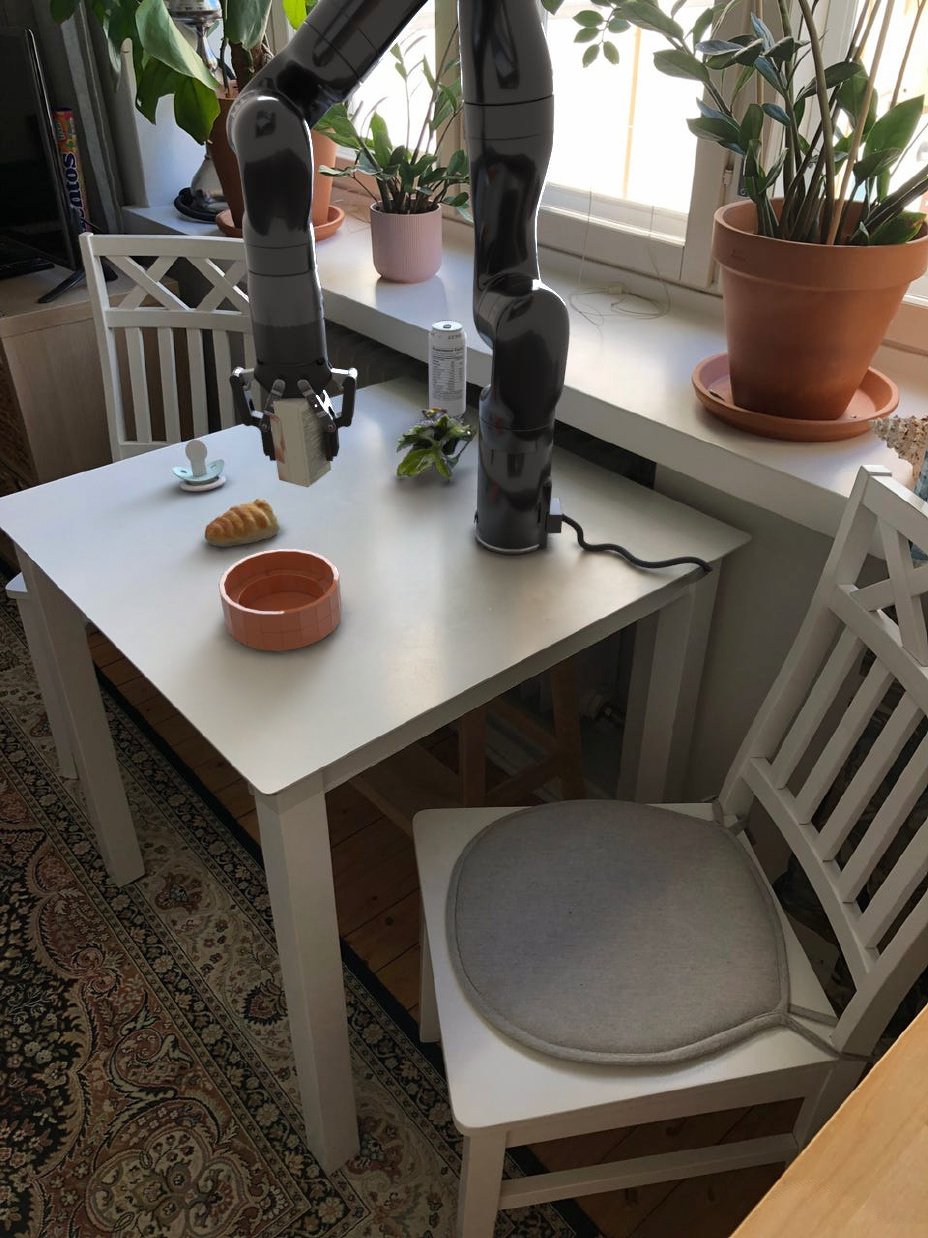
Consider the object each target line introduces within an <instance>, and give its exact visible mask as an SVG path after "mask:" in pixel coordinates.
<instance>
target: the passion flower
mask: <svg viewBox="0 0 928 1238" xmlns="http://www.w3.org/2000/svg"><path fill="white" fill-rule="evenodd" d="M447 412H448V409H447V408H443V409H440V408H437V407H434V408H432V410H429V408H427V409H425V408H424V409H422V410H421V413H422V416H423V418H425V419H428V420H425V419H423V421H422V420H421V419H419V422H415V424H411V426H412V428H408V430H407V433H401V437H402V438H403V439H397V440H396V441H397V443H399V444H398V446H397V447H396V451H395V452H396V453H397V454H398V453H399V452H400V451H402V449H404V450H405V449H407V448H408V447H411V446H412V447H411V449H409V451H408V452H407V453H406V455H405V456H404V458H403V459H402V461H401V462H400V463H398V466H397V467H396V476H397V477H398V478H399V479H400V478H402V477H404V476H407V477H409V478H413V477H415V476H418V475H420V474H422V473H423V472H424V471H426V470H428V469H429V468H430V467H431V466H433V465H435V467H436V469H437V471H438V472H439V473H440V474H441V475H442V476H444V477H445V478H447V484H446V485H449V484H450V481H451V479H452V476H453V472H454V470H455V467H456V466H457V464H458V463H459V459H460V457H461V455H462V454H463V452H464V451H465V449H466V448H467V447H468V445H469V444H470V442H472V441H473V440H474V438H475V436H476V435H477V430H478V428H477V425H475V426H474V427H473V429H472V424H467V423H465V422H464V420H465V419H464V418H461V417H457V418H456V419H455V418H454V417H451V416H450V415H448V416H447V415H446V413H447ZM439 417H440V418H439ZM438 418H439V419H438ZM460 441H463V442H466V443H464V445H463V446H462V449H461V450H460V451H459V452H458V453H457V454H456V455H455V456H454V457H450V456H452V455H454V454H455V452H456V448H457V446H458V444H459V443H460Z"/></svg>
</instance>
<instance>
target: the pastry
mask: <svg viewBox="0 0 928 1238" xmlns="http://www.w3.org/2000/svg"><path fill="white" fill-rule="evenodd" d="M280 529H281V526H280V522H279V520H278V517H277V515H276V514H275V513H274V510H273V507H272V506H271V504H270V503H269V502H267V501H266V500H265V499H260V498H257V499H255V500H254V501H252V502H247V503H241V504H239V505H238V504H237V505H234V506H231V507H230V508H229V509H228V510H227V511H226V512H224V513H223V514H222V515H219V516H216V517H215V518H214V519H213V520H211V522H209V524H207V525H206V526H205V530H204V539H205V541H206V542H208V543H209V544H212V545H214V546H217V547H223V548H226V547H229V548H231V547H234V546H243V545H249V544H253V543H256V542H260V541H261V540H263V539H265V540H267V539H270V538H272V537H275V535H277V534H278V533H279V530H280Z"/></svg>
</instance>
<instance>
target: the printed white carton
mask: <svg viewBox="0 0 928 1238" xmlns="http://www.w3.org/2000/svg"><path fill="white" fill-rule="evenodd" d="M319 398H320V400H321V401H322V399H323V393H322V394H321V396H320V397H319ZM268 399H269V397H268V398H267V399H266V401H268ZM273 405H274V412H275V415H270V422H271V429H272V436H273V443H274V449H275V456H276V461H275V462H276V469H277V476H278V481H282V482H286V483H289V484H293V485H296V486H299V487H304V488H309V487H311V486H312V485H314V484H315V483H317V482H318V481H319V480H320V479H321V478H323V477H324V476H325V475H327V474H328V473H329V472H330V471H332V464H331V461H326V454H325V443H324V430H325V427H324V426H323V424H322V422H321V420H320V419H319V417H318V416H316V415H315V413H314V411H313V410H312V408H311V406H310V405H309V403H308V401H307V399H306V398H287V399H280V401H273ZM273 405H271V406H273Z"/></svg>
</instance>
